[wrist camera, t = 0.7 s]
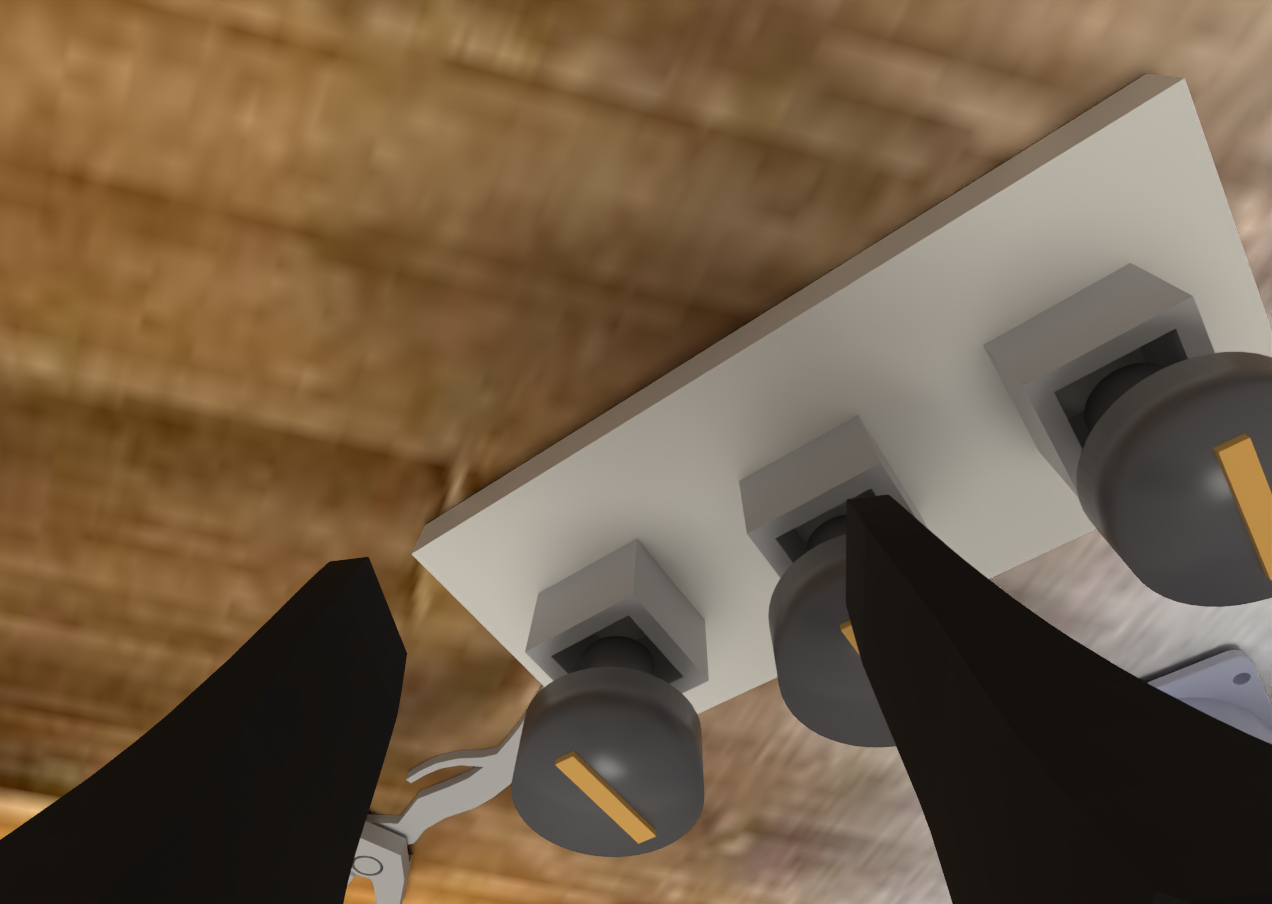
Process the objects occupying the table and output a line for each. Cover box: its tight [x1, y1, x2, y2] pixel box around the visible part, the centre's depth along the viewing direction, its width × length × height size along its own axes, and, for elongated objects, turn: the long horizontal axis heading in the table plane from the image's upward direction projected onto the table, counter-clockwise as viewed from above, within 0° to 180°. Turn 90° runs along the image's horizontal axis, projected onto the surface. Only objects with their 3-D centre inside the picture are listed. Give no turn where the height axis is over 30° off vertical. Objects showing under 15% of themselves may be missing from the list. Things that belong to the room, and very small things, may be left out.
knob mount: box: [412, 74, 1272, 714], centre depth 21 cm, size 10×22×4 cm, turn 125°
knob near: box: [1076, 352, 1272, 607], centre depth 16 cm, size 4×4×4 cm
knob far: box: [511, 636, 704, 857], centre depth 20 cm, size 4×4×4 cm
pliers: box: [347, 685, 544, 904], centre depth 30 cm, size 10×2×15 cm
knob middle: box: [768, 515, 896, 747], centre depth 18 cm, size 4×4×4 cm
